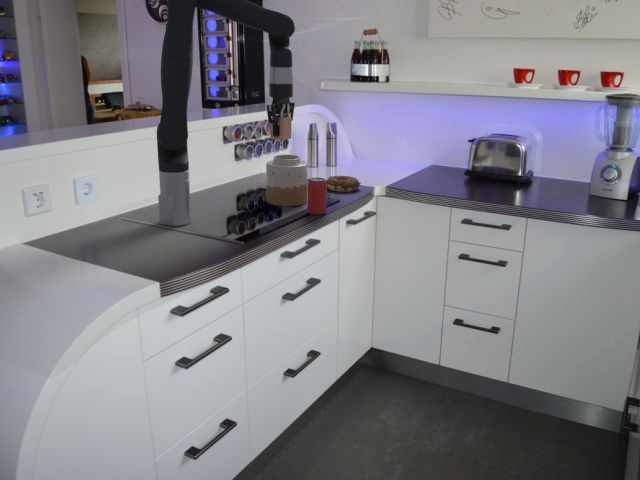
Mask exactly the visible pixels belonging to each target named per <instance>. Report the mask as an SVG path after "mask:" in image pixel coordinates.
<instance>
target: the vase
mask: <svg viewBox="0 0 640 480" xmlns="http://www.w3.org/2000/svg"><path fill="white" fill-rule="evenodd" d="M308 174H309V165H308V162H307V161H304V160H302V159H301V156H300V155H297V154H296V155H295V154H277V155H274V156H273V159H271V160H268V161H267V162H266V163H265V200H266V202H267V203H268V204H269V205H272V206H278V207H297V206H302V205H305V204H306V203H308V178H309V177H308Z"/></svg>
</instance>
